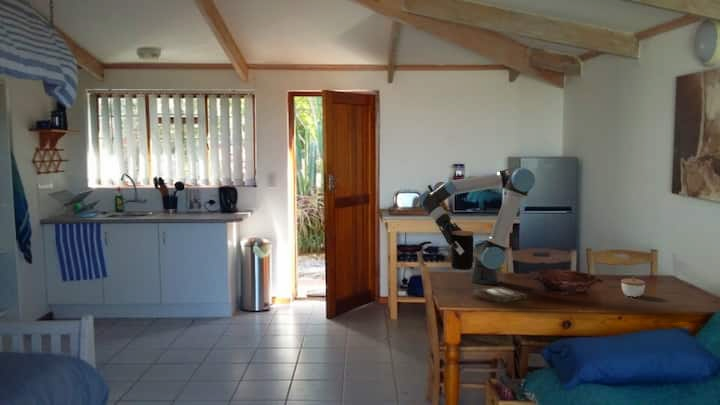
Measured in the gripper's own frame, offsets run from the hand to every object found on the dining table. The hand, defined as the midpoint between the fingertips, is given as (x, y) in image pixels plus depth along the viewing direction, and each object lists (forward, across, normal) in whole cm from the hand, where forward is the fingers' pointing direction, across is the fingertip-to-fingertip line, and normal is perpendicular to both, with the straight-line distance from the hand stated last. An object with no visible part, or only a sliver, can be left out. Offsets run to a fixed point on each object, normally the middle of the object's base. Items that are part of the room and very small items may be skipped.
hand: (467, 251), depth 291 cm
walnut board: (+26, -6, -4) cm, 27 cm away
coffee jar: (+4, 0, -8) cm, 9 cm away
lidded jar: (+62, -50, +31) cm, 85 cm away
